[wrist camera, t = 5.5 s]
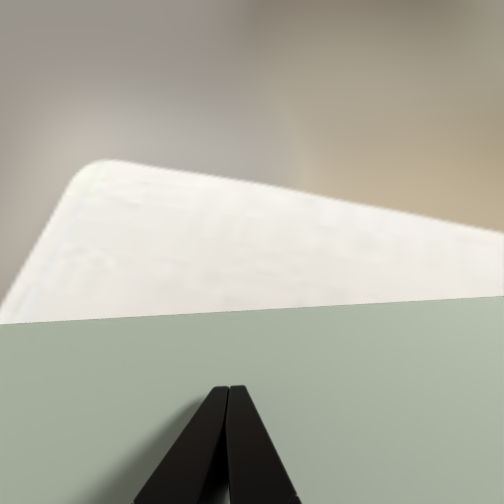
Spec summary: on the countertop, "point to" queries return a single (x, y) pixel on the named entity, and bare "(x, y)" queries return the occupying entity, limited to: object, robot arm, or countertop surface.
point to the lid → (263, 399)
